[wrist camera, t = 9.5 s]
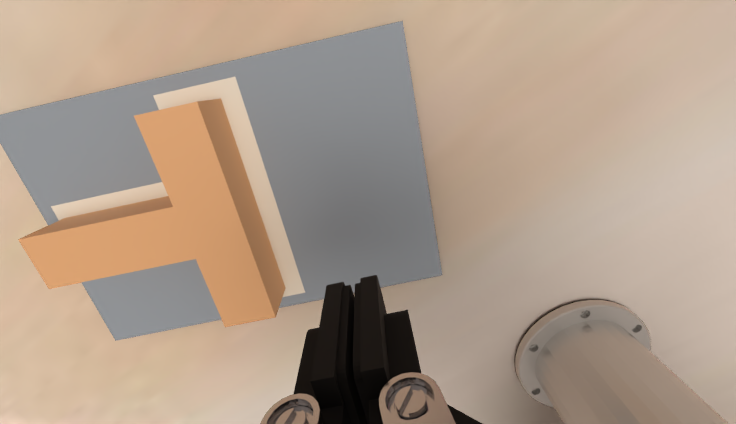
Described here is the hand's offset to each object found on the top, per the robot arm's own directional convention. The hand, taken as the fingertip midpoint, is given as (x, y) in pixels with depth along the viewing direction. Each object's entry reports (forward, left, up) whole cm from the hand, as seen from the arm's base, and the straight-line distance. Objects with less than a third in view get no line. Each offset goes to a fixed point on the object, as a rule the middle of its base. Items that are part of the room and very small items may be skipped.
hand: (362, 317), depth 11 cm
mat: (0, +10, -17) cm, 20 cm away
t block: (0, +16, -17) cm, 23 cm away
